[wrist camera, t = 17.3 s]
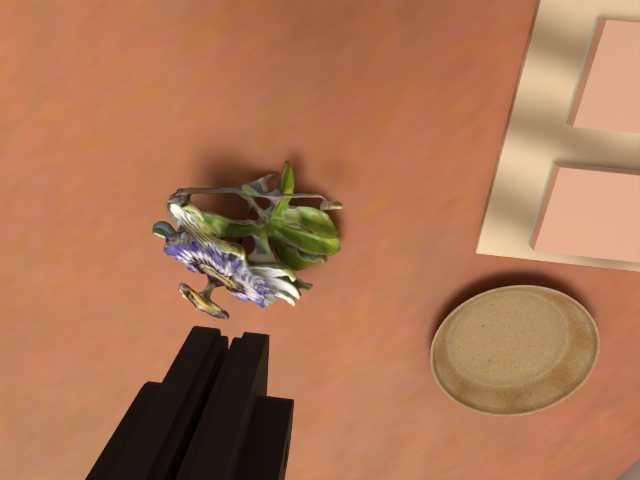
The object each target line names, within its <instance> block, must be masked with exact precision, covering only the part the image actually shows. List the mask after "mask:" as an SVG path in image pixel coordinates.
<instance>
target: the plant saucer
mask: <svg viewBox="0 0 640 480" xmlns="http://www.w3.org/2000/svg"><path fill="white" fill-rule="evenodd" d="M599 351H600V337H599V332H598V329H597V326H596V323H595V321H594V319H593V318H592V316H591V315H590V313H589V312H588V311H587V310H586V309H585V308H584V307H583V306H582V305H581V304H580V303H579V302H577V301H576V300H574V299H573V298H571V297H570V296H568V295H566V294H564V293H562V292H559V291H557V290H554V289H550V288H546V287H541V286H534V285H513V286H505V287H500V288H495V289H492V290H488V291H485V292H483V293H480V294H478V295H476V296H474V297H472V298H470V299H469V300H467V301H465V302H464V303H462V304H461V305H460V306H458V307H457V308H456V309H455V310H453V311H452V312H451V313H450V314H449V315H448V316H447V317H446V318H445V320H444V321H443V322H442V324H441V325H440V327H439V328H438V330H437V332H436V334H435V336H434V339H433V341H432V345H431V350H430V365H431V370H432V374H433V376H434V379H435V381H436V383H437V384H438V386H439V387H440V388H441V390H442V391H443V392H444V393H445V394H446V395H447V396H448V397H449V398H450V399H451V400H453V401H454V402H456V403H457V404H459V405H461V406H463V407H465V408H467V409H469V410H471V411H474V412H478V413H482V414H486V415H492V416H520V415H526V414H531V413H535V412H538V411H541V410H544V409H547V408H549V407H551V406H554V405H556V404H558V403H560V402H562V401H563V400H565V399H567V398H568V397H569V396H571V395H572V394H573V393H574V392H576V391H577V390H578V389H579V388H580V387H581V386H582V385H583V384H584V383H585V381H586V380H587V379H588V378H589V376H590V374H591V373H592V371H593V370H594V368H595V365H596V363H597V360H598V356H599Z"/></svg>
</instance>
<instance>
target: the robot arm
mask: <svg viewBox="0 0 640 480" xmlns="http://www.w3.org/2000/svg"><path fill="white" fill-rule="evenodd" d="M268 358H269V335H267V334H259V333H250V332H244V334H243V336H242V338H237V337H234V338H233V340H232V343H231V345H230V348H229V350H228V337H227V336H221V332H220V329H217V328H209V327H201V326H194V327H193V328H192V330H191V332H190V333H189V335H188V337H187V339H186V340H185V342H184V344H183V346H182V348H181V349H180V351H179V353H178V355H177V356H176V358H175V360H174V362H173V364H172V365H171V367H170V369H169V371H168V372H167V374H166V376H165V378H164V379H163V381H162V383H158V382H150V381H148V382H147V383H145V384H144V385H143V387H142V388H141V389H140V391H139V393H138V394H137V396H136V397H135V399H134V401H133V402H132V404H131V406H130V407H129V409H128V411H127V412H126V414H125V415H124V417H123V419H122V420H121V422H120V424H119V425H118V427H117V429H116V430H115V432H114V433H113V435H112V437H111V438H110V440H109V442H108V443H107V445H106V446H105V448H104V450H103V451H102V453H101V455H100V456H99V458H98V460H97V461H96V463H95V464H94V466H93V468H92V469H91V471H90V473H89V474H88V476H87V478H86V479H85V480H284V479H285V473H286V467H287V461H288V455H289V447H290V440H291V431H292V421H293V409H294V400H293V399H286V398H278V397H270V396H267V378H268Z"/></svg>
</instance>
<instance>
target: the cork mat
mask: <svg viewBox="0 0 640 480" xmlns="http://www.w3.org/2000/svg"><path fill="white" fill-rule="evenodd" d="M595 20H615V21H626V22H637V23H640V0H538V2H537V6H536V10H535V14H534V18H533V22H532V25H531V29H530V33H529V37H528V41H527V45H526V49H525V53H524V57H523V61H522V65H521V69H520V73H519V77H518V81H517V84H516V88H515V92H514V96H513V100H512V104H511V108H510V112H509V116H508V120H507V124H506V128H505V132H504V136H503V140H502V143H501V147H500V151H499V155H498V159H497V163H496V167H495V171H494V175H493V179H492V183H491V187H490V191H489V195H488V199H487V202H486V206H485V210H484V214H483V218H482V222H481V226H480V230H479V234H478V238H477V242H476V246H475V252H476V253H479V254H488V255H496V256H505V257H514V258H523V259H532V260H541V261H550V262H559V263H568V264H577V265H586V266H594V267H603V268H612V269H621V270H630V271H639V272H640V263H638V262H629V261H620V260H611V259H602V258H593V257H584V256H575V255H566V254H557V253H548V252H539V251H533V249H532V248H531V247H530V246H529V244H528V243H527V242H528V239H529V235H530V232H531V229H532V225H533V222H534V219H535V216H536V212H537V209H538V206H539V203H540V199H541V196H542V193H543V190H544V186H545V183H546V180H547V176H548V173H549V170H550V167H551V163H552V162H559V163H569V164H578V165H588V166H597V167H607V168H616V169H626V170H636V171H640V134H637V133H627V132H617V131H608V130H598V129H588V128H578V127H572V126H570V125H567V124H565V123H564V121H565V118H566V114H567V111H568V108H569V105H570V101H571V98H572V95H573V91H574V88H575V85H576V82H577V78H578V75H579V72H580V69H581V65H582V62H583V59H584V56H585V52H586V49H587V46H588V42H589V39H590V36H591V33H592V29H593V26H594V23H595Z"/></svg>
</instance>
